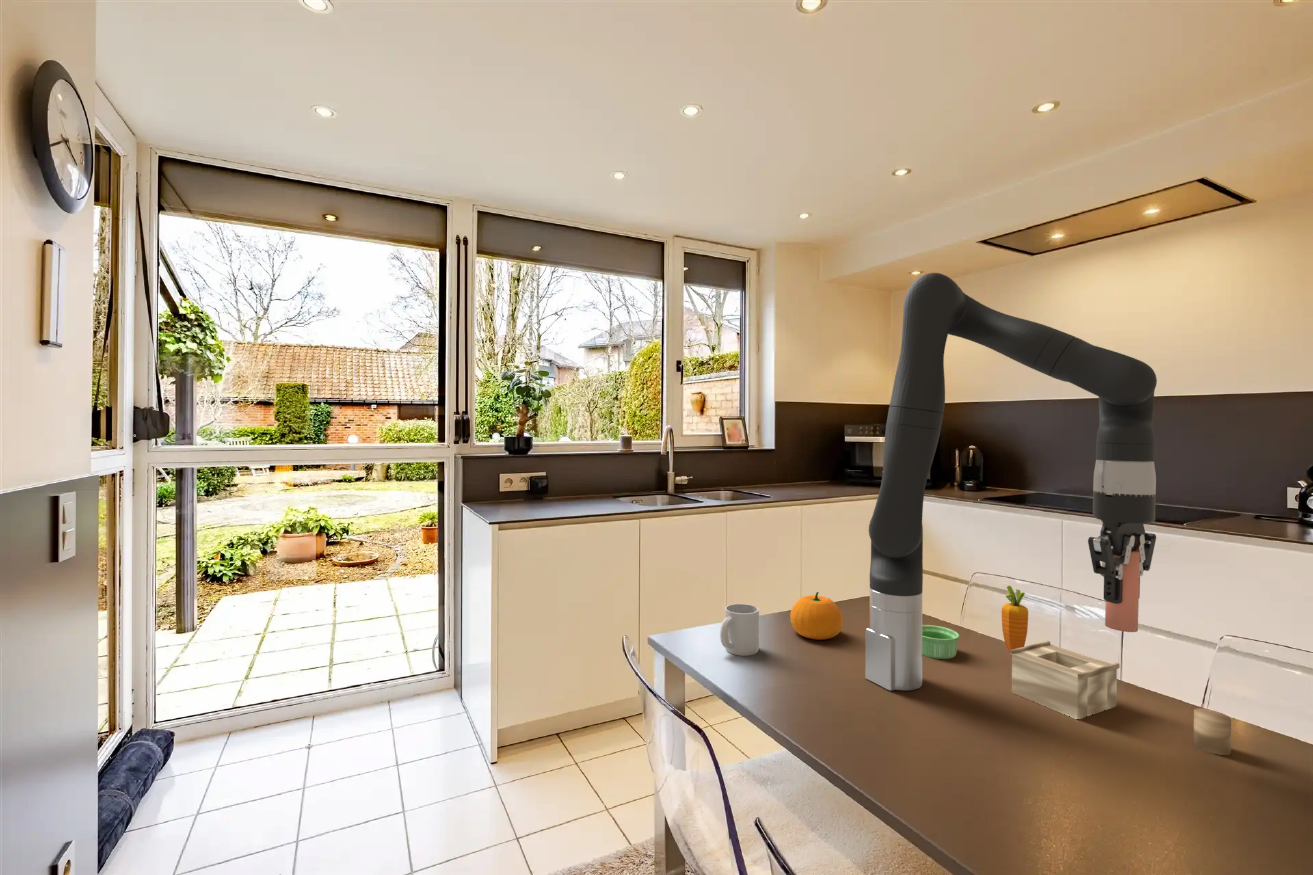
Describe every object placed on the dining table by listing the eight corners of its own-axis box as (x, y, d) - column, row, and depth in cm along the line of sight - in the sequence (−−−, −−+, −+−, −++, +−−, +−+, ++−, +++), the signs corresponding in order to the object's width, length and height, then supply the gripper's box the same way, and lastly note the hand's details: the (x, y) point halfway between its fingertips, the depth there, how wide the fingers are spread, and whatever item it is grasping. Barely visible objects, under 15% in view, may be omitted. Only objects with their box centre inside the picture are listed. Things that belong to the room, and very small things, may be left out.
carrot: (1033, 665, 117) (1033, 590, 117) (1006, 663, 118) (1006, 589, 118) (1023, 656, 122) (1023, 584, 122) (996, 654, 123) (997, 583, 123)
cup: (765, 650, 125) (765, 609, 125) (734, 662, 119) (734, 618, 119) (740, 641, 131) (740, 601, 131) (709, 652, 124) (709, 610, 124)
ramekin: (909, 642, 130) (909, 623, 130) (953, 646, 128) (953, 626, 127) (915, 658, 121) (915, 636, 121) (963, 662, 119) (963, 641, 119)
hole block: (1080, 720, 95) (1080, 674, 95) (1009, 691, 105) (1009, 650, 105) (1119, 707, 99) (1119, 663, 99) (1047, 680, 110) (1048, 640, 110)
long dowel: (1128, 633, 88) (1130, 554, 88) (1099, 625, 91) (1100, 548, 91) (1143, 629, 89) (1145, 551, 89) (1114, 621, 93) (1116, 546, 93)
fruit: (832, 625, 141) (832, 584, 141) (850, 643, 129) (850, 598, 129) (784, 626, 141) (784, 585, 140) (798, 644, 129) (798, 599, 129)
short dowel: (1222, 758, 84) (1222, 723, 84) (1188, 744, 88) (1188, 711, 87) (1236, 751, 86) (1236, 717, 86) (1201, 738, 89) (1202, 706, 89)
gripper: (1123, 486, 96) (1120, 589, 97) (1069, 489, 91) (1067, 599, 91) (1178, 490, 90) (1176, 602, 90) (1124, 494, 84) (1121, 613, 84)
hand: (1121, 599), depth 90 cm, fingers closed on long dowel, 4 cm apart
